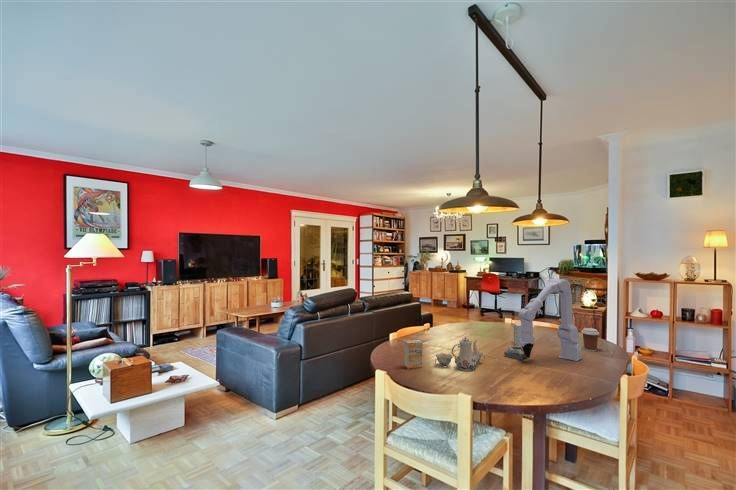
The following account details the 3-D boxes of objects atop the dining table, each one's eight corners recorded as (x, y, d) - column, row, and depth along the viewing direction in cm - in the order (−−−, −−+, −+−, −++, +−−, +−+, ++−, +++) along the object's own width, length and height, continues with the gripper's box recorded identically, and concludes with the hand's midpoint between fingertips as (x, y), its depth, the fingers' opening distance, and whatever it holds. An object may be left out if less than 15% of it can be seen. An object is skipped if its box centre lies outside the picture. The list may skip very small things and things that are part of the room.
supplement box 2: (525, 342, 228) (525, 322, 228) (529, 345, 221) (529, 325, 221) (513, 342, 229) (513, 322, 229) (517, 345, 222) (516, 325, 222)
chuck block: (529, 356, 200) (529, 352, 200) (522, 360, 193) (522, 355, 193) (512, 352, 207) (512, 348, 207) (504, 356, 200) (504, 352, 200)
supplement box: (407, 369, 180) (407, 343, 181) (404, 366, 185) (404, 340, 185) (422, 367, 183) (422, 341, 183) (419, 364, 187) (418, 339, 187)
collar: (532, 359, 186) (532, 355, 186) (517, 359, 187) (517, 354, 187) (521, 350, 203) (521, 346, 203) (508, 349, 204) (508, 345, 204)
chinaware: (475, 361, 196) (473, 331, 198) (496, 368, 181) (493, 334, 182) (431, 368, 186) (429, 335, 188) (449, 375, 171) (446, 339, 172)
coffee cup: (596, 348, 215) (596, 328, 215) (602, 352, 206) (601, 331, 206) (579, 347, 217) (579, 327, 217) (584, 351, 208) (583, 330, 209)
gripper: (524, 328, 198) (525, 353, 198) (513, 332, 188) (513, 358, 188) (538, 330, 193) (538, 355, 193) (527, 335, 183) (527, 361, 183)
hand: (527, 357), depth 190 cm, fingers closed
